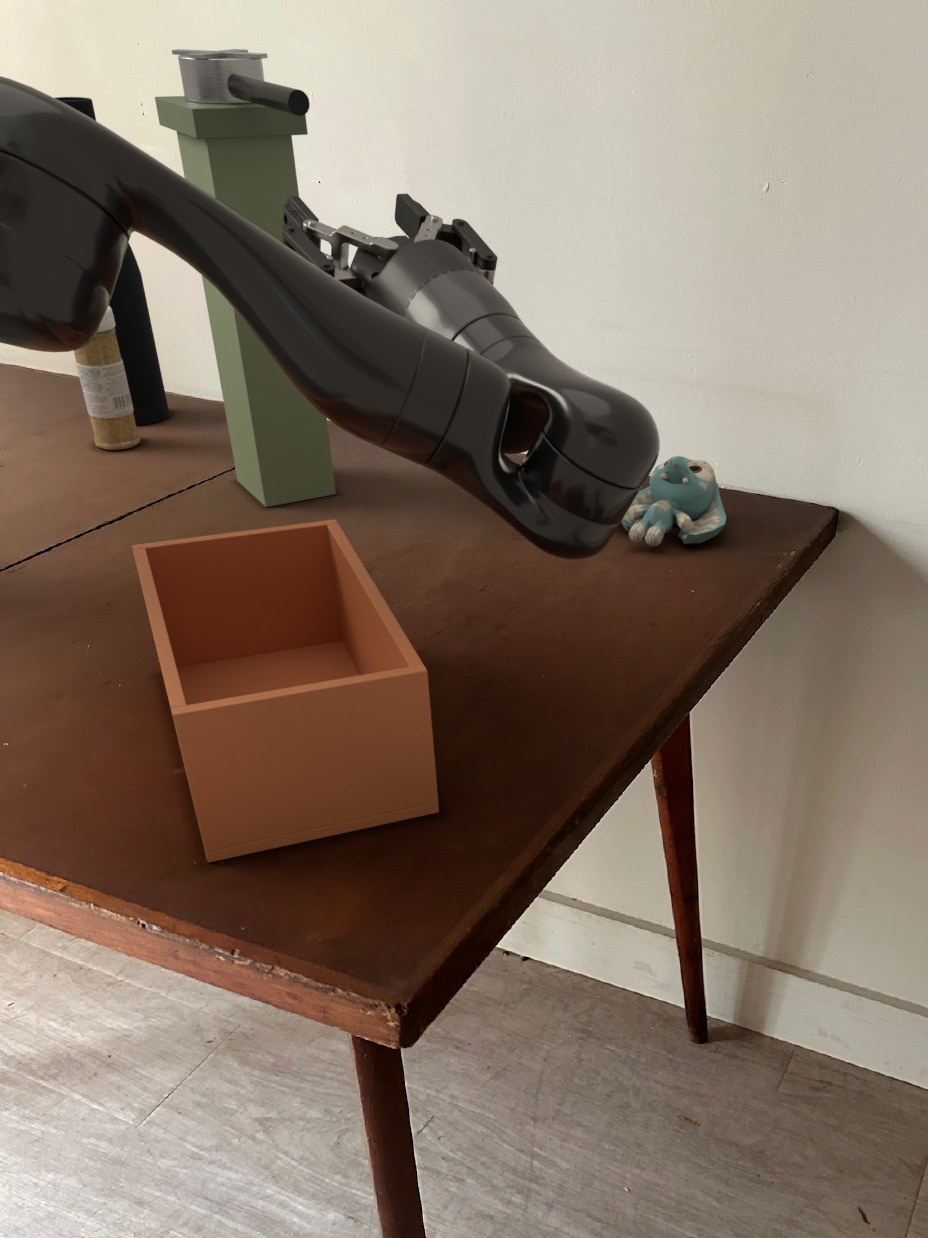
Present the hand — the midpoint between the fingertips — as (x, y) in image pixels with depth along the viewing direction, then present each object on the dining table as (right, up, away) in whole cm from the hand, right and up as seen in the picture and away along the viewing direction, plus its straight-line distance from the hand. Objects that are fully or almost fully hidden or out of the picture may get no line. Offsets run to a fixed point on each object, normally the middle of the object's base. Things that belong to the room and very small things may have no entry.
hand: (346, 207), depth 85 cm
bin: (-2, -39, -8) cm, 40 cm away
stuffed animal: (+24, -18, +23) cm, 38 cm away
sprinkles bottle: (-33, -5, +37) cm, 50 cm away
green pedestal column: (-13, -12, +29) cm, 33 cm away
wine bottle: (-34, +1, +45) cm, 56 cm away
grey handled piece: (-8, +11, +5) cm, 15 cm away
